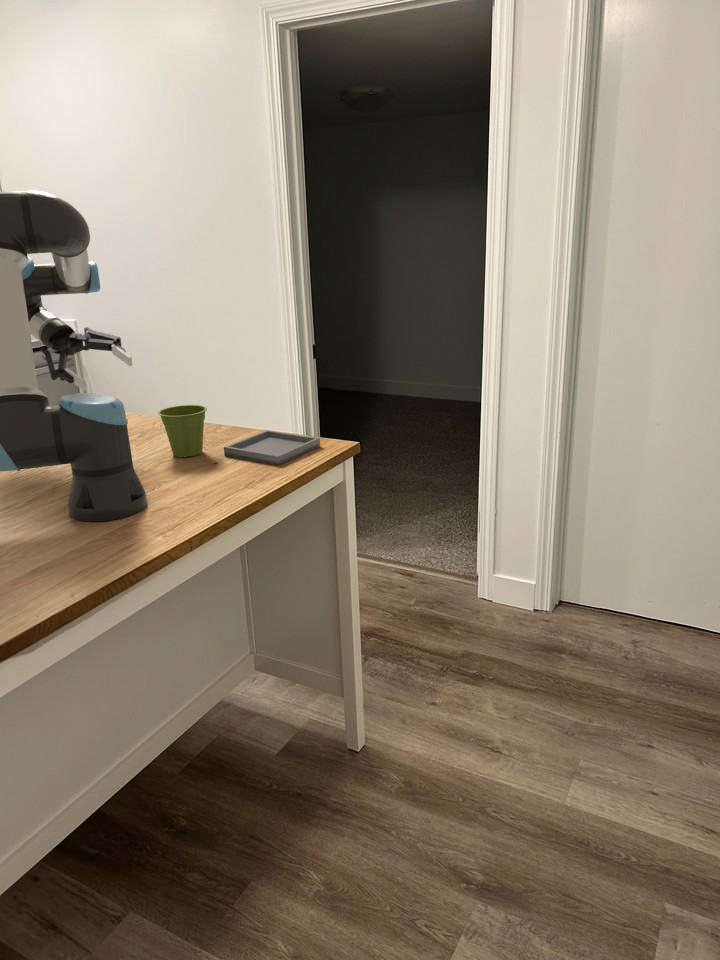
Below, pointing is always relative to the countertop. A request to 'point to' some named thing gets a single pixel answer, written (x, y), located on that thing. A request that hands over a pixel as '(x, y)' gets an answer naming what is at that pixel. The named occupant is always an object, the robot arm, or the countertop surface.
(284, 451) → the tray
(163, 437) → the countertop surface
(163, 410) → the plant pot
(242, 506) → the countertop surface
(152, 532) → the countertop surface
